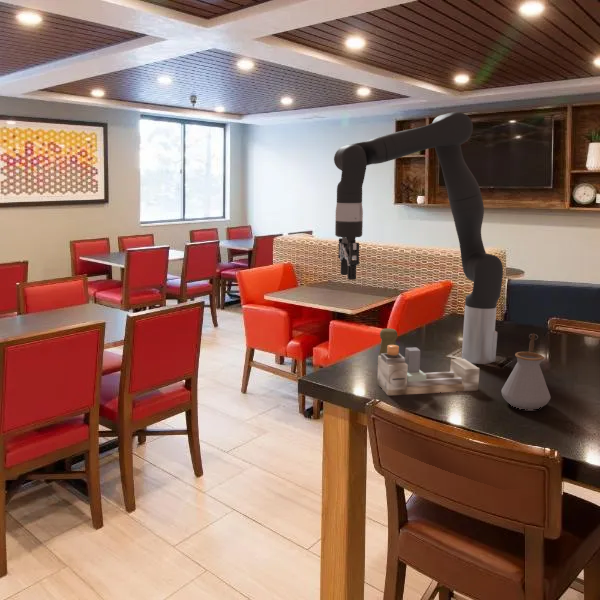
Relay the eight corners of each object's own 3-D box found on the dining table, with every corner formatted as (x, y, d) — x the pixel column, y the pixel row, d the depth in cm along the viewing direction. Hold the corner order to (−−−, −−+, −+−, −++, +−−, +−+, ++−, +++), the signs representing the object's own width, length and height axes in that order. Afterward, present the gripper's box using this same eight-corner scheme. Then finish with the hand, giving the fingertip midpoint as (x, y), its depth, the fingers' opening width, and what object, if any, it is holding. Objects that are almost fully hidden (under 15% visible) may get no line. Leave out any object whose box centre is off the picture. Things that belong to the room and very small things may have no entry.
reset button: (396, 351, 159) (396, 344, 158) (400, 355, 156) (400, 347, 155) (385, 352, 158) (385, 345, 158) (389, 355, 155) (389, 348, 155)
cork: (397, 368, 177) (398, 332, 174) (376, 366, 178) (377, 330, 176) (398, 362, 182) (399, 327, 180) (378, 360, 184) (379, 326, 181)
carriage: (415, 371, 163) (416, 344, 162) (426, 380, 156) (427, 353, 154) (397, 372, 163) (398, 345, 161) (408, 381, 155) (409, 353, 153)
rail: (462, 379, 167) (465, 347, 165) (478, 391, 158) (481, 357, 156) (377, 384, 163) (378, 351, 161) (388, 396, 153) (390, 361, 152)
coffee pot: (548, 416, 141) (554, 355, 138) (497, 408, 146) (502, 349, 143) (551, 389, 160) (557, 334, 157) (507, 382, 165) (511, 330, 162)
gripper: (369, 221, 159) (367, 281, 162) (355, 217, 173) (354, 273, 176) (341, 221, 158) (340, 281, 161) (330, 217, 172) (329, 273, 175)
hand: (348, 277), depth 169 cm, fingers open, 8 cm apart
